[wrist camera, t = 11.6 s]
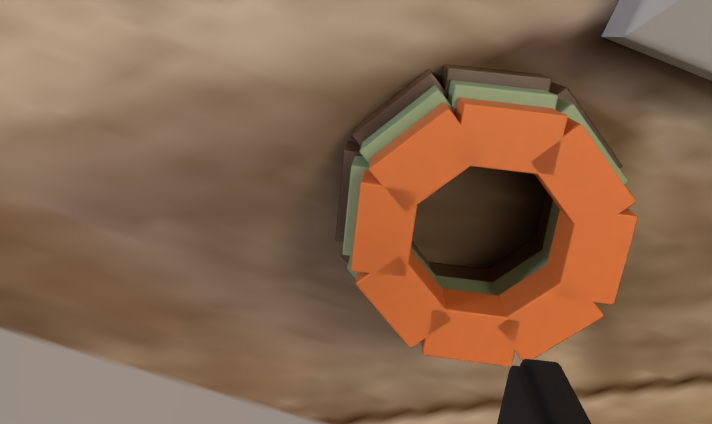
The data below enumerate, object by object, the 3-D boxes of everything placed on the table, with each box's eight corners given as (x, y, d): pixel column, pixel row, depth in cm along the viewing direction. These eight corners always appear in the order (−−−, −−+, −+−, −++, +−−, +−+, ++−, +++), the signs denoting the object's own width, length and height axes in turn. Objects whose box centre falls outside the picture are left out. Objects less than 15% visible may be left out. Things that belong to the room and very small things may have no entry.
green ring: (339, 309, 27) (334, 330, 25) (363, 70, 23) (360, 73, 22) (574, 338, 26) (588, 362, 25) (634, 99, 23) (656, 105, 21)
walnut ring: (332, 296, 29) (327, 317, 27) (356, 54, 25) (352, 56, 23) (569, 326, 29) (582, 349, 27) (629, 84, 25) (650, 88, 23)
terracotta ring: (346, 321, 25) (342, 345, 23) (373, 86, 22) (370, 92, 20) (578, 351, 24) (593, 378, 23) (640, 118, 21) (664, 126, 19)
